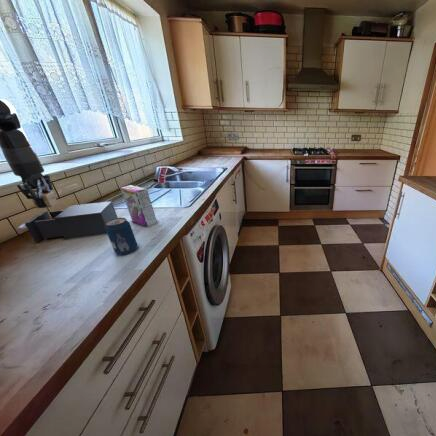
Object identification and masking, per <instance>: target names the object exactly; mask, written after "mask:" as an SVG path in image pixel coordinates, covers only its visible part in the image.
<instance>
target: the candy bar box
mask: <svg viewBox="0 0 436 436" xmlns="http://www.w3.org/2000/svg"><path fill="white" fill-rule="evenodd" d="M120 192H121V194H122V197H123V200H124V203H125V205H126V207H127V210H128V213H129V215H130V219H131V221H132V223H135V224H138V225H141V226H144V227H150V226H153V225H155V224H158V220H157V216H156V214H155V212H154V207H153V204H152V202H151V198H150V195H149V191H148V189H147V188H146V187H141V186H137V185H133V184H129V185H126V186H122V187H120Z"/></svg>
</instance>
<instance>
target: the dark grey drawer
mask: <svg viewBox="0 0 436 436" xmlns="http://www.w3.org/2000/svg"><path fill="white" fill-rule="evenodd" d="M64 210H65V209H59V210H51V211H49V212H48V210H43V211H41V212H39V213H38V214H37V215H35V216H34V217H32V218H30V219H29V220H27V221H26V222H24V223H22V224H21V225H19V226H18V227H17V228H16V230H17V231H18V232H22V231H23V230H28V232H29V233H30V235H31V237H32V239H33V241H34V242H39V241H41V240H42V239H44V240H45V239H51V238H59V237H64V236H63V234H62V232H61V230H60V228H59V227H58V225H57V223H56V221H55V219H54V218H55V217H56V216H58V215H59V214H60V213H62V212H63V211H64Z"/></svg>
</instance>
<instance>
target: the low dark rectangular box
mask: <svg viewBox="0 0 436 436" xmlns="http://www.w3.org/2000/svg"><path fill="white" fill-rule="evenodd" d="M63 210H64V211H63V212H62V213H60V214H59V215H58V216H56V217H55V218H54V219H55V221H56V223H57V225H58V227H59V228H60V230H61V232H62V234H63V236H62V237H63V238H64V240H71V239H77V238H84V237H85V238H86V237H92V236H99V235H106V234H107V232H106V230H105V227H106V222H107V221H109V220H112V219H115V218H119V217H118V214H117V212H116V209H115V207H114V204H113V201H111V200H110V201H102V202H101V201H100V202H92V203H84V204H83V203H81V204H73V205H70V206H68V207H67V208H65V209H63ZM107 235H108V234H107Z"/></svg>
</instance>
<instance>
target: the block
mask: <svg viewBox="0 0 436 436" xmlns="http://www.w3.org/2000/svg"><path fill="white" fill-rule="evenodd" d="M36 195H37V193H36ZM41 196H42V198H43V200H44V201H45V203H46V205H47V207H45V208H52V207H54V206H56V205H57V204H58V203H59V201H58V200H57V198H56V196H55V193H54V192H53V191H51V192H49V193H41ZM31 201H32V203H33V204H34V207H35V208H36V209H40V208H39V207H38V206H37V204H36V202H35V200H34V199H31ZM45 208H44V209H45Z"/></svg>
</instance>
